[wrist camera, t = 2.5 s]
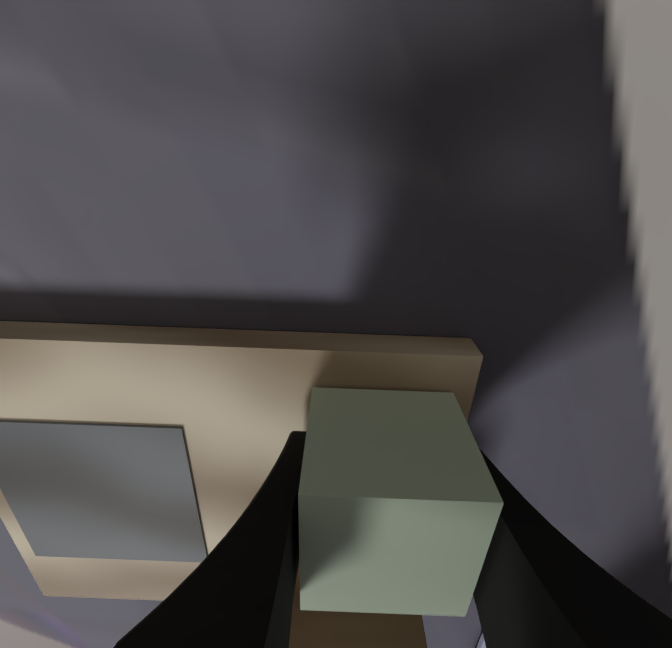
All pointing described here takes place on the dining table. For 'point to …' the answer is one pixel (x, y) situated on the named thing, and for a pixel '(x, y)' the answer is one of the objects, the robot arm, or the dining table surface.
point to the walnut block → (353, 628)
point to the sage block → (392, 504)
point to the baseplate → (169, 436)
